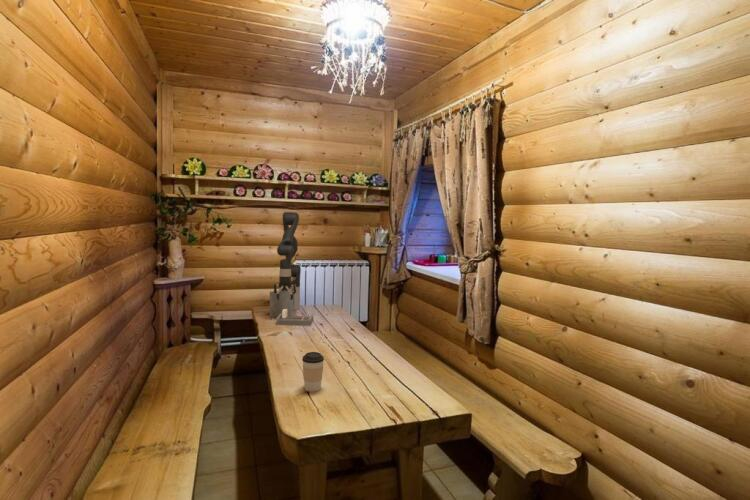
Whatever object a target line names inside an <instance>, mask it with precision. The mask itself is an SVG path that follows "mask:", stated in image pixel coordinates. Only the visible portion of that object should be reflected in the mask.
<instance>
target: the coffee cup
mask: <svg viewBox="0 0 750 500" xmlns="http://www.w3.org/2000/svg"><path fill="white" fill-rule="evenodd" d="M324 360H325V358H324V356H323V355H322V353H321V352H318V351H310V352H306V353H305V354H304V355H303V356H302V360H301V361H302V374H303V384H304V388H303V389H304V391H306V392H310V393H311V392H317V391H318V392H319V391H320V390H321V389H322V380H323V371H324Z"/></svg>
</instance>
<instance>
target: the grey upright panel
mask: <svg viewBox="0 0 750 500" xmlns="http://www.w3.org/2000/svg"><path fill="white" fill-rule="evenodd" d="M279 289H280V287H278V290H279ZM278 290H277V292H278ZM283 309H287V316H294V310H293V299H292V300H291V293H290V292H289V291H282V290H281V291H280V292H279V300H278V299H277V294H276V293H274V290H273V291H269V318H277V317H278V316H279V315H280V314H281V313H282V310H283Z"/></svg>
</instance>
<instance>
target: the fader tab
mask: <svg viewBox="0 0 750 500" xmlns="http://www.w3.org/2000/svg"><path fill="white" fill-rule="evenodd" d="M286 317H287V309H283V310H282V318H286Z"/></svg>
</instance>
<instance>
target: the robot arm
mask: <svg viewBox="0 0 750 500" xmlns="http://www.w3.org/2000/svg"><path fill="white" fill-rule="evenodd" d="M299 220H300V215H299V213H298V212H292V211H284V212H283V214H282V227H283V235H282V239H281V242H280V243H279V245H277V248H276V252H277V254H278V256H280V257H282V256H284V257H285V258H284V259H280V260H279V273H278V274H279V276H278V277H279V278H278V279H279V280H278V283H275V284H274V285H273V291H274V293H276V294H277V299H278V300H279V292H280V291H281V290H282V291H289V292H290V293H291V300H292V299H293V311H294V310H295V311H296V310H300V308H301V307H300V306H301V305H300V303H301V274H302V273H301V272H302V271H301V266H300V265H299V264H292V260H293V258H294V256H295V255H296V254H297V252H298V248H299V247H298V240H297V238H296V236H295V233H296V230H297V228H298V225H299V222H300V221H299ZM292 278H295V279H292ZM279 288H280V289H279ZM277 289H278V290H277ZM277 291H278V292H277Z"/></svg>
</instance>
